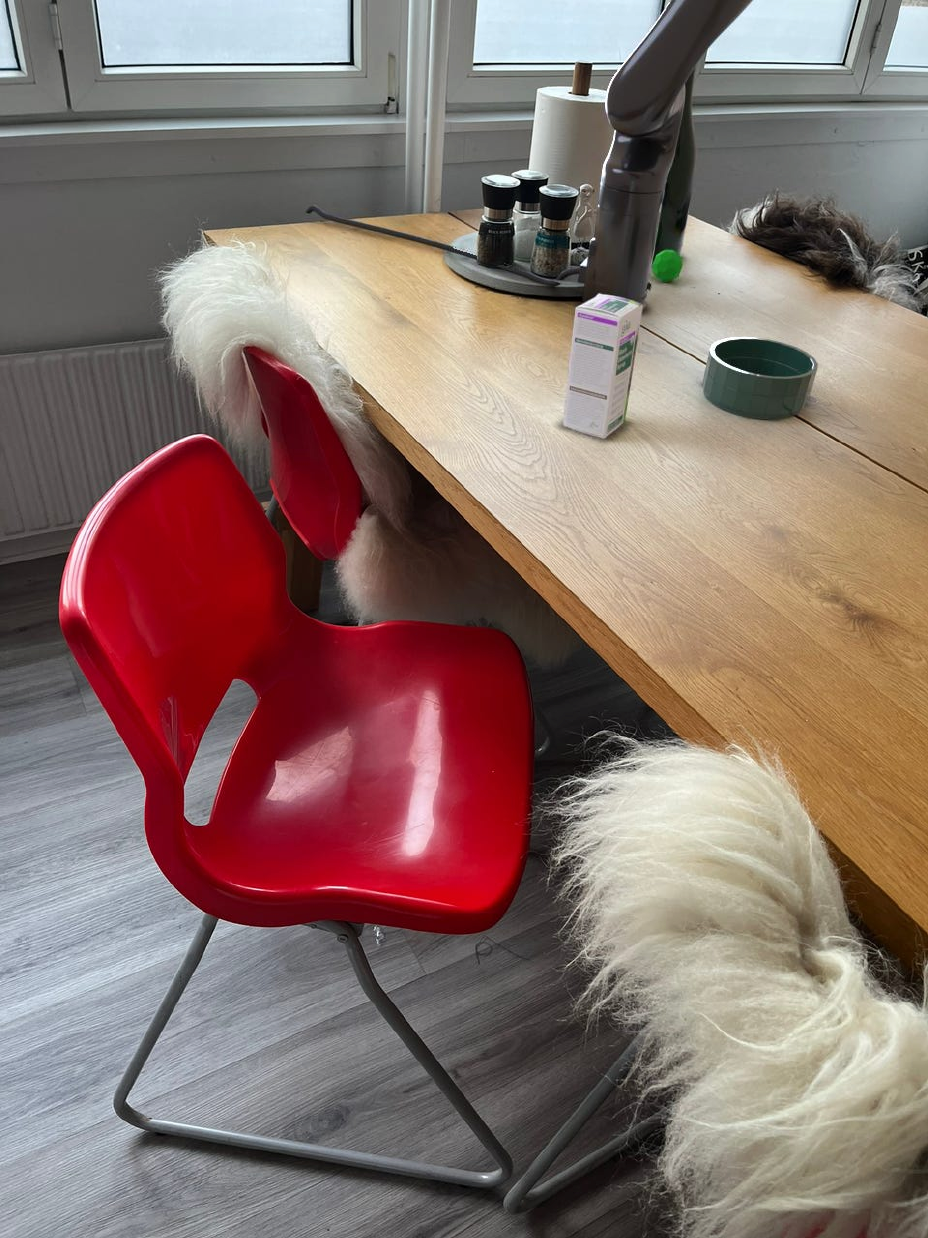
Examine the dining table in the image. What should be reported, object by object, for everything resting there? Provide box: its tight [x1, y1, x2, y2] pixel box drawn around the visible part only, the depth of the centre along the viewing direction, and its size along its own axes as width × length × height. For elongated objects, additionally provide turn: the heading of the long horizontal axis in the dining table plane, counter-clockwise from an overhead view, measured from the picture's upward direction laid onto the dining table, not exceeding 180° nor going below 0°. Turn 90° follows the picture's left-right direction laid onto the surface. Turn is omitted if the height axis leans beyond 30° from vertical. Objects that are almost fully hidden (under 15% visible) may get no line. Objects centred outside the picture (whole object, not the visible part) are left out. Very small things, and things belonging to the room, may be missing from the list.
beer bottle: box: [652, 64, 698, 262], centre depth 159 cm, size 10×10×33 cm
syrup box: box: [562, 293, 643, 440], centre depth 108 cm, size 6×6×14 cm
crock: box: [701, 336, 819, 421], centre depth 119 cm, size 13×13×6 cm
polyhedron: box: [651, 250, 684, 283], centre depth 156 cm, size 5×5×5 cm
